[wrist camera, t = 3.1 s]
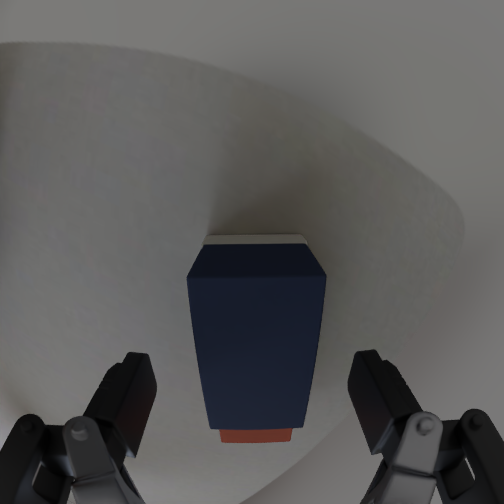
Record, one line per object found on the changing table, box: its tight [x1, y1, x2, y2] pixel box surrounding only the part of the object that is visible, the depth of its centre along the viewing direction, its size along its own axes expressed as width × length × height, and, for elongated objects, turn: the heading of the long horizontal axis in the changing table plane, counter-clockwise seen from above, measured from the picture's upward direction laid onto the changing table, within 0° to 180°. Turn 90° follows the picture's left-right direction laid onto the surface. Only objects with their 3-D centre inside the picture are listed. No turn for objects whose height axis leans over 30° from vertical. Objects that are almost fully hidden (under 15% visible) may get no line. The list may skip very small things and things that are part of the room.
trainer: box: [187, 234, 327, 443], centre depth 13 cm, size 12×5×5 cm, turn 0°
